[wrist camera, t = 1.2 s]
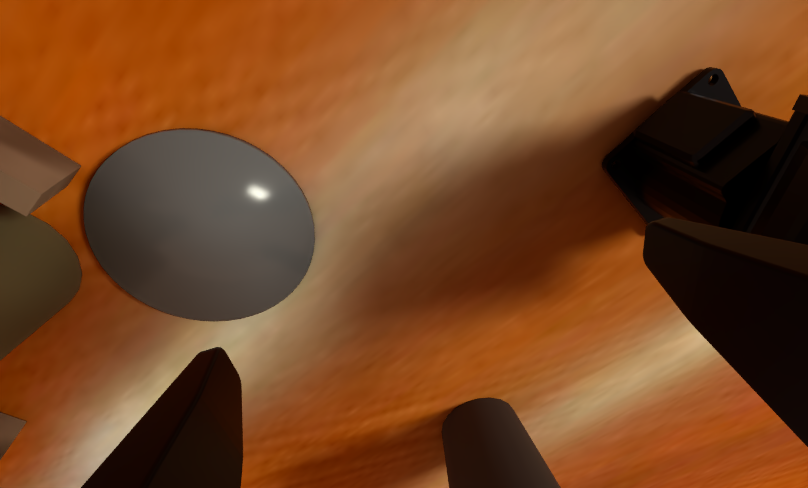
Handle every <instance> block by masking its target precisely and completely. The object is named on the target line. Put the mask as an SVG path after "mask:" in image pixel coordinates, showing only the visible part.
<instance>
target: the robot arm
mask: <svg viewBox="0 0 808 488" xmlns="http://www.w3.org/2000/svg"><path fill="white" fill-rule="evenodd" d="M711 76H712V79H711V81H710V82H709V83H708V80H709V78H710V77H711ZM792 110H795V111H794V113H793V115H792V117H791V119H790V121H789V122H788V121H785V120H781V119H778V118H774V117H770V116H767V115H763V114H760V113H756V112H754V111H753V110H751V109H748V108H744V107H741V105H740V103H739V101H738V100H737V98H736V96H735V94H734V92H733V90H732V88H731V86H730V84H729V82H728V80H727V78H726V77H725V75H724V73H723V71H722V70H721V69H717V68H712V67H709V68H706V69H705V70H703V71H702V72H701V73H700V74H698V75H697V76H696V77H695V78H694V79H693V80H692V81H691V82H689V83H688V84H687V85H686V86H685V87H684V88H683V89H682V90H680V91H679V92H678V93H676V94H675V95H674V96H673V97H672V98H671V99H670V100H668V101H667V102H666V103H665V104H664V105H663V106H662V107H661V108H659V109H658V110H657V111H656V112H655V113H654V114H653V115H651V116H650V117H649V118H648V119H647V120H646V121H645V122H644V123H642V124H641V125H640V126H639V127H638V128H637V129H636V130H635V131H634V132H633V133H632V134H631V135H630V136H629V137H627V138H626V139H625V140H624V141H623V142H622V143H621V144H620V145H618V146H617V147H616V148H615V149H614V150H613V151H612V152H610V153H609V154H608V155H607V156H606V157H605V158H604V160H603V162H602V167H603V170H604V171H605V172H606V173H607V175H608V176H609V177H610V178H611V180H612V181H613V182H614V183H615V185H616V186H617V187H618V189H619V190H620V191H621V192H622V194H623V195H624V196H625V197H626V199H627V200H628V201H629V202H630V204H631V205H632V206H633V207H634V209H635V210H636V211H637V212H638V214H639V215H640V216H641V217H642V219H643V220H644V221H645V223H646V224H647V227H646V230H645V239H644V248H643V259H644V262H645V264H646V266H647V267H648V269H649V270H650V271H651V273H652V274H653V275H654V276H655V278H656V279H657V280H658V282H659V283H660V284H661V286H662V287H663V288H664V289H665V291H666V292H667V293H668V295H669V296H670V297H671V299H672V300H673V301H674V303H675V304H676V305H677V306H678V308H679V309H680V310H681V312H682V313H683V314H684V315H685V317H686V318H687V319H688V320H689V321H690V323H691V324H692V325H693V326H694V327H695V328H696V329H697V330H698V331H699V332H700V334H701V335H702V336H703V337H704V338H705V339H706V340H707V341H708V342H709V343H710V344H711V345H712V346H713V347H714V348H715V349H716V350H717V352H718V353H719V354H720V355H721V356H722V357H723V358H724V359H725V360H726V361H727V362H728V363H729V364H730V365H731V366H732V367H733V368H734V370H735V371H736V372H737V373H738V374H739V375H740V376H741V377H742V378H743V379H744V380H745V381H746V382H747V383H748V384H749V385H750V386H751V388H752V389H753V390H754V391H755V392H756V393H757V394H758V395H759V396H760V397H761V398H762V399H763V400H764V401H765V402H766V403H767V404H768V406H769V407H770V408H771V409H772V410H773V411H774V412H775V413H776V414H777V415H778V416H779V417H780V418H781V419H782V420H783V421H784V422H785V424H786V425H787V426H788V427H789V428H790V429H791V430H792V431H793V432H794V433H795V434H796V435H797V436H798V437H799V438H800V439H801V441H802V442H803V443H804V444H805V445H806V446H807V447H808V95H802V94H800V95H799V97H798V99H797V101H796V103H795V105H794V107H793V109H792ZM614 161H616V164H615V165H614V166H613V167H611V164H612V163H613V162H614ZM242 464H243V429H242V389H241V380H240V377H239V374H238V372H237V371H236V369H235V367H234V366H233V364H232V362H231V360H230V359H229V357H228V355H227V354H226V352H225V351H224V349H222V348H220V347H216V348H212V349H209V350H205V351H202V352H200V353H198V354H197V355H196V356H195V358H194V359H193V360H192V361H191V362H190V363H189V364H188V366H187V367H186V368H185V369H184V370H183V371H182V372H181V374H180V375H179V376H178V377H177V378H176V379H175V380H174V382H173V383H172V384H171V385H170V386H169V387H168V388H167V390H166V391H165V392H164V393H163V394H162V395H161V397H160V398H159V399H158V400H157V401H156V402H155V403H154V405H153V406H152V407H151V408H150V409H149V410H148V411H147V413H146V414H145V415H144V416H143V417H142V418H141V419H140V421H139V422H138V423H137V424H136V425H135V426H134V427H133V429H132V430H131V431H130V432H129V433H128V434H127V435H126V437H125V438H124V439H123V440H122V441H121V442H120V443H119V445H118V446H117V447H116V448H115V449H114V450H113V452H112V453H111V454H110V455H109V456H108V457H107V458H106V460H105V461H104V462H103V463H102V464H101V465H100V466H99V468H98V469H97V470H96V471H95V472H94V473H93V474H92V476H91V477H90V478H89V479H88V480H87V481H86V482H85V484H84V485H83V486H82V487H81V488H240V487H241V477H242Z"/></svg>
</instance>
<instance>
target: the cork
mask: <svg viewBox="0 0 808 488" xmlns="http://www.w3.org/2000/svg"><path fill="white" fill-rule="evenodd" d="M81 277H82V272H81V268H80V263H79V259H78V256H77V255H76V253H75V252H74V250H73V249H72V247H71V246H70V244H69V243H68V241H67V240H66V239H65V238H64V237H63V236H61V235H60V234H59V233H58V232H57V231H56V230H55V229H53V228H52V227H51V226H50V225H49V224H47V223H45V222H43V221H41V220H40V219H38V218H36V217H34V216H32V215H30V214H29V215H28V216H24V215H22V214H21V213H19V212H17V211H15V210H13V209H11V208H10V207H7V206H3V205H0V360H1V359H3V358H4V357H5V356H6V355H7V354H9V353H10V352H11V351H12V350H13V349H14V348H16V347H17V346H18V345H19V344H20V343H22V342H23V341H24V340H25V339H26V338H27V337H29V336H30V335H31V334H32V333H33V332H35V331H36V330H37V329H38V328H39V327H40V326H42V325H43V324H44V323H45V322H46V321H48V320H49V319H50V318H51V317H52V316H53V315H55V314H56V313H57V312H58V311H59V310H61V309H62V308H63V307H64V306H65V305H66V304H68V303H69V302H70V301H71V299H72V298H73V297H74V295H75V294H76V293H77V291H78V290H79V287H80V282H81Z"/></svg>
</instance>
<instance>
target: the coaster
mask: <svg viewBox="0 0 808 488" xmlns="http://www.w3.org/2000/svg"><path fill="white" fill-rule="evenodd" d="M84 225H85V231H86V235H87V238H88V241H89V244H90V247H91V249H92V251H93V253H94V255H95V257H96V258H97V260H98V261H99V263H100V264H101V266H102V267H103V269H104V270H105V271H106V272H107V273H108V275H109V276H110V277H111V278H112V279H113V280H114V281H115V282H116V283H117V284H118V285H119V286H120V287H122V288H123V289H124V290H125V291H127V292H128V293H129V294H131V295H132V296H133V297H135V298H136V299H138V300H140V301H142V302H143V303H145V304H147V305H149V306H151V307H153V308H155V309H157V310H160V311H162V312H165V313H168V314H171V315H174V316H178V317H182V318H186V319H193V320H200V321H229V320H235V319H241V318H245V317H249V316H253V315H255V314H258V313H261V312H263V311H265V310H267V309H269V308H271V307H273V306H275V305H276V304H278V303H279V302H281V301H282V300H284V299H285V298H286V297H287V296H288V295H289V294H291V293H292V292H293V291H294V289H295V288H296V287H297V286H298V285H299V284H300V282H301V281H302V279H303V277H304V276H305V274H306V272H307V270H308V268H309V265H310V263H311V259H312V256H313V251H314V242H315V231H314V222H313V217H312V212H311V209H310V207H309V204H308V201H307V199H306V197H305V195H304V193H303V191H302V189H301V188H300V187H299V185H298V184H297V182H296V181H295V179H294V178H293V177H292V176H291V175H290V174H289V172H288V171H287V170H286V169H285V168H284V167H283V166H282V165H281V164H279V163H278V162H277V161H276V160H275V159H274V158H273V157H271V156H270V155H268V154H267V153H265V152H264V151H262V150H261V149H259V148H257V147H256V146H254V145H252V144H250V143H248V142H246V141H244V140H241V139H239V138H236V137H233V136H231V135H227V134H224V133H220V132H216V131H211V130H203V129H191V128H179V129H169V130H162V131H158V132H154V133H150V134H147V135H145V136H142V137H140V138H137V139H135V140H133V141H131V142H129V143H128V144H126V145H124V146H123V147H121V148H120V149H118V150H117V151H116V152H115V153H114V154H112V155H111V156H110V157H109V158H107V159H106V161H105V162H104V163H103V164H102V165H101V166H100V167H99V169H98V170H97V172H96V173H95V175H94V177H93V178H92V180H91V182H90V184H89V187H88V190H87V193H86V197H85V202H84Z"/></svg>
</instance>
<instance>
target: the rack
mask: <svg viewBox="0 0 808 488" xmlns="http://www.w3.org/2000/svg"><path fill="white" fill-rule="evenodd" d="M80 167H81V166H80V165H79V164H77V163H76V162H74V161H72V160H71V159H69V158H68V157H66V156H64V155H63V154H61V153H59V152H58V151H56V150H55V149H53V148H51V147H50V146H48V145H47V144H45V143H43V142H42V141H40V140H38V139H37V138H35V137H34V136H32V135H30V134H29V133H27V132H25V131H24V130H22V129H21V128H19V127H17V126H16V125H14V124H13V123H11V122H9V121H8V120H6V119H4V118H3V117H1V116H0V203H2V204H4V205H6V206H8V207H10V208H11V209H13V210H15V211H17V212H19V213H21V214H22V215H24V216H28V215H29V214H30V213H32V212H33V211H34V210H36V209H37V208H38V207H40V206H41V205H42V204H44V203H45V202H46V201H48V200H49V199H50V198H52V197H53V196H55V195H56V194H57V193H59V192H60V191H61V190H63V189H64V188H65V187H67V186H68V184H69V183H70V181H71V180H72V179H73V177H74V176H75V174H76V173H77V171H78V170H79V169H80ZM25 424H26V421H24V420H21V419H18V418H15V417H12V416H9V415H6V414H3V413H1V412H0V459H1V458H2V457H3V455H4V454H5V452H6V451H7V449H8V448H9V447H10V445H11V444H12V442H13V441H14V439H15V438H16V437H17V435H18V434H19V432H20V431H21V429H22V428H23V426H24V425H25Z"/></svg>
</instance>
